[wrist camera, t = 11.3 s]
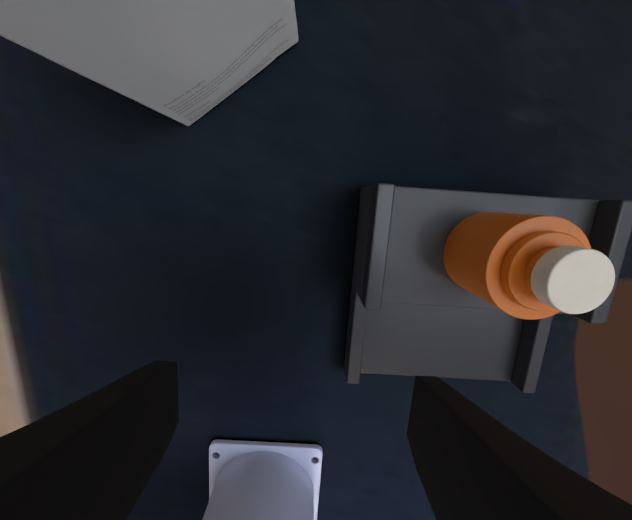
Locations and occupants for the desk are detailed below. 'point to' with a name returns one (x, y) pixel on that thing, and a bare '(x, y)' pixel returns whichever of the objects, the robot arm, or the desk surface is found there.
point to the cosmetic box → (157, 45)
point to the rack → (452, 286)
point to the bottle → (528, 264)
